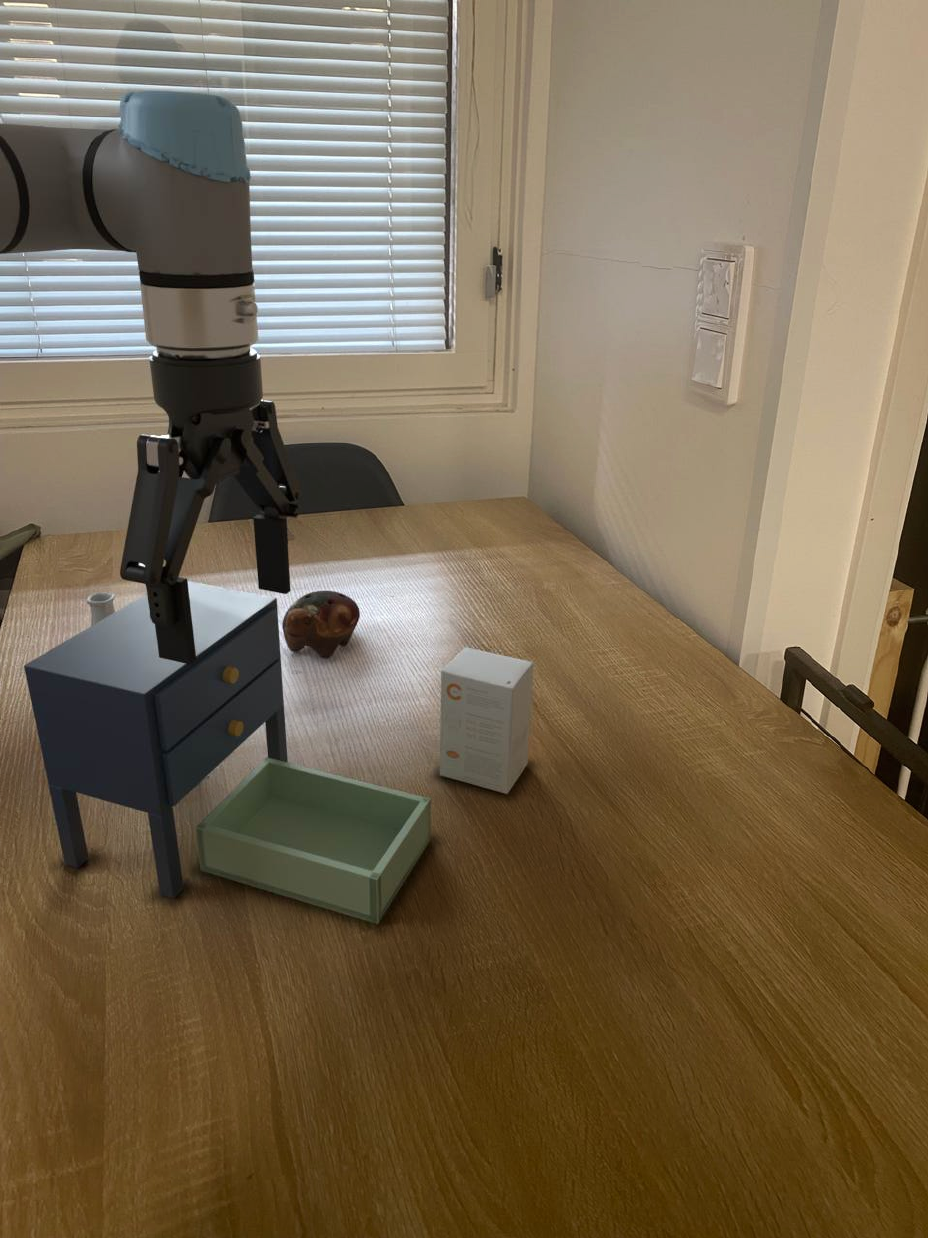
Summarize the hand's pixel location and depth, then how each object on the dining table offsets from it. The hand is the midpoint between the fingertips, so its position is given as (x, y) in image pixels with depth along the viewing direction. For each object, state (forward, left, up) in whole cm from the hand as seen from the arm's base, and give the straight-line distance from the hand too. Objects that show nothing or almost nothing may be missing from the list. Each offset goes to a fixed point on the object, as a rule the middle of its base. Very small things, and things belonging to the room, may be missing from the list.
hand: (230, 622), depth 73 cm
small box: (+14, +23, -26) cm, 38 cm away
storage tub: (+4, +4, -26) cm, 26 cm away
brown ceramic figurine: (-16, +42, -26) cm, 52 cm away
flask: (-38, +26, -26) cm, 53 cm away
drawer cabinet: (-11, +4, -26) cm, 28 cm away
